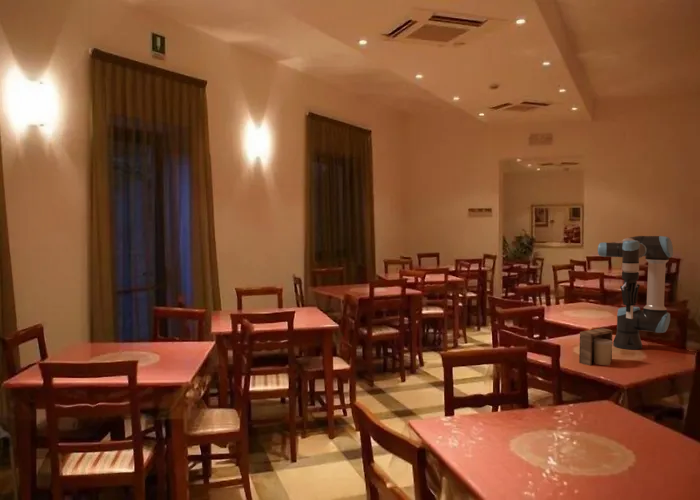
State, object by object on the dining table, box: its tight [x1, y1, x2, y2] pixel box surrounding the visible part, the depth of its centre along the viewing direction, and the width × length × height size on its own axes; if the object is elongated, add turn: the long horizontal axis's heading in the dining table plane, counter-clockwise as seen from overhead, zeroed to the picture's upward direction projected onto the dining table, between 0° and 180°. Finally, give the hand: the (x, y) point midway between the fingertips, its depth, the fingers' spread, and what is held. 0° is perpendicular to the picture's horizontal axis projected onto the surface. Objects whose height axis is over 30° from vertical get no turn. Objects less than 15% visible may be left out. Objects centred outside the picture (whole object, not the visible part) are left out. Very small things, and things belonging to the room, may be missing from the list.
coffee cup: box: [593, 338, 613, 366], centre depth 287 cm, size 9×9×12 cm
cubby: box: [578, 327, 613, 366], centre depth 289 cm, size 18×6×16 cm, turn 121°
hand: (629, 318), depth 278 cm, fingers closed
